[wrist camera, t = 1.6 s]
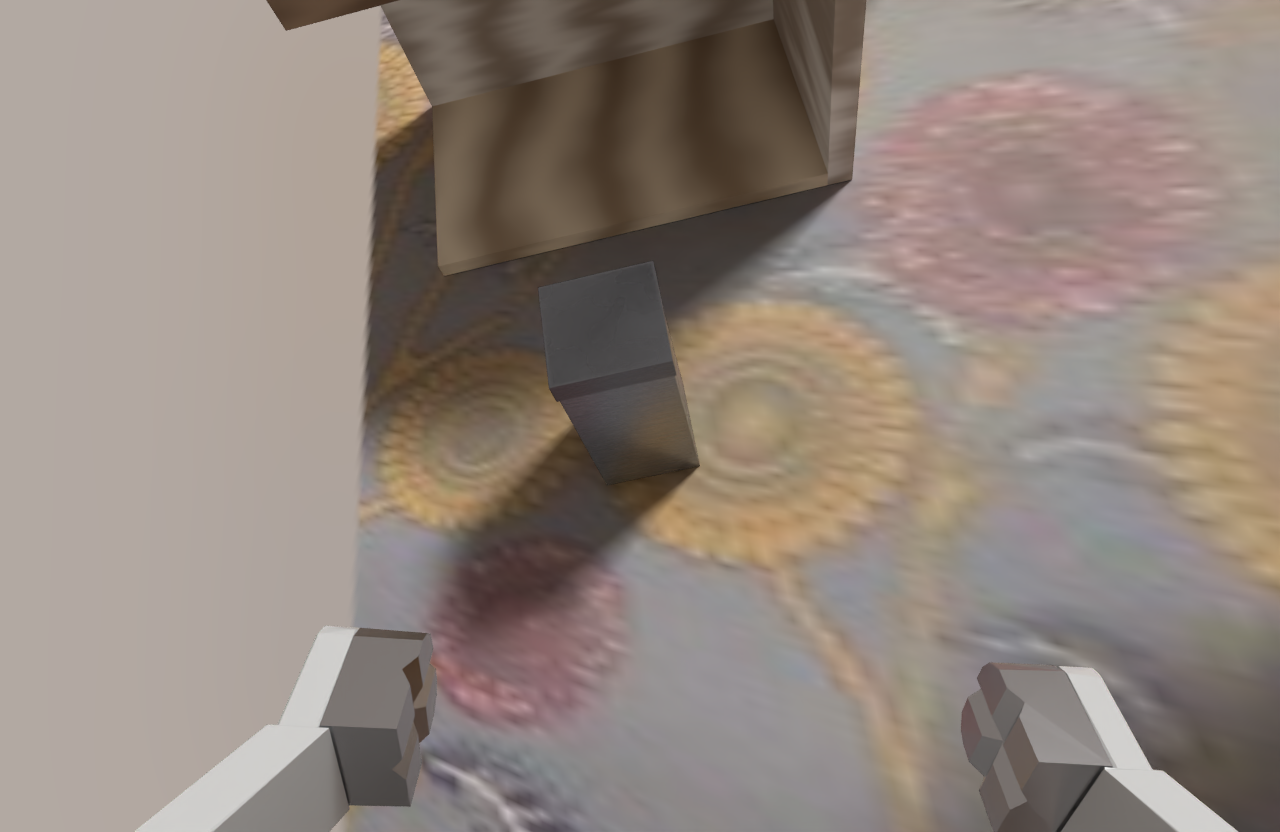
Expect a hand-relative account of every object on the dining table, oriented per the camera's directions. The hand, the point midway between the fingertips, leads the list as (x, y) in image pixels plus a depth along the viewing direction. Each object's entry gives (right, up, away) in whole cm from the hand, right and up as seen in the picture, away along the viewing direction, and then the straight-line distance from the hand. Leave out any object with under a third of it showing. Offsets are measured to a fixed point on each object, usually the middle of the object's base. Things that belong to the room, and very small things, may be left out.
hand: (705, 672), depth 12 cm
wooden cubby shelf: (-2, +22, +42) cm, 48 cm away
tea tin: (-1, +3, +32) cm, 32 cm away
